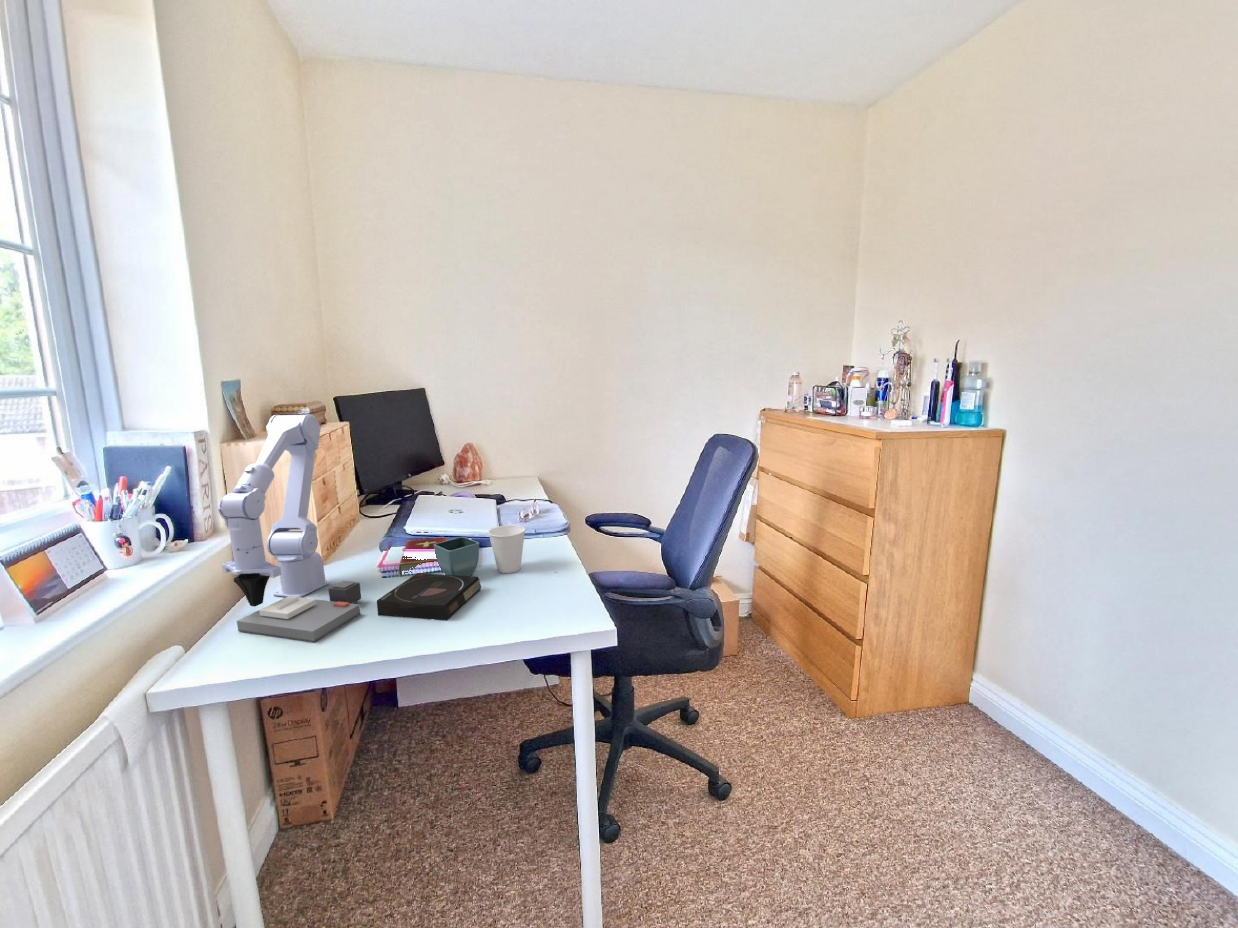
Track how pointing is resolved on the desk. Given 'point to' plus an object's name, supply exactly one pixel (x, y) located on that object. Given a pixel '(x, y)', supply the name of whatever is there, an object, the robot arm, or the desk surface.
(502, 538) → the cup
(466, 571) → the flower pot
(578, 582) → the desk surface
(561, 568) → the desk surface
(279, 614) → the shutter
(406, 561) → the hardcover book
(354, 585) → the plug
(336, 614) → the socket plate
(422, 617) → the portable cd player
